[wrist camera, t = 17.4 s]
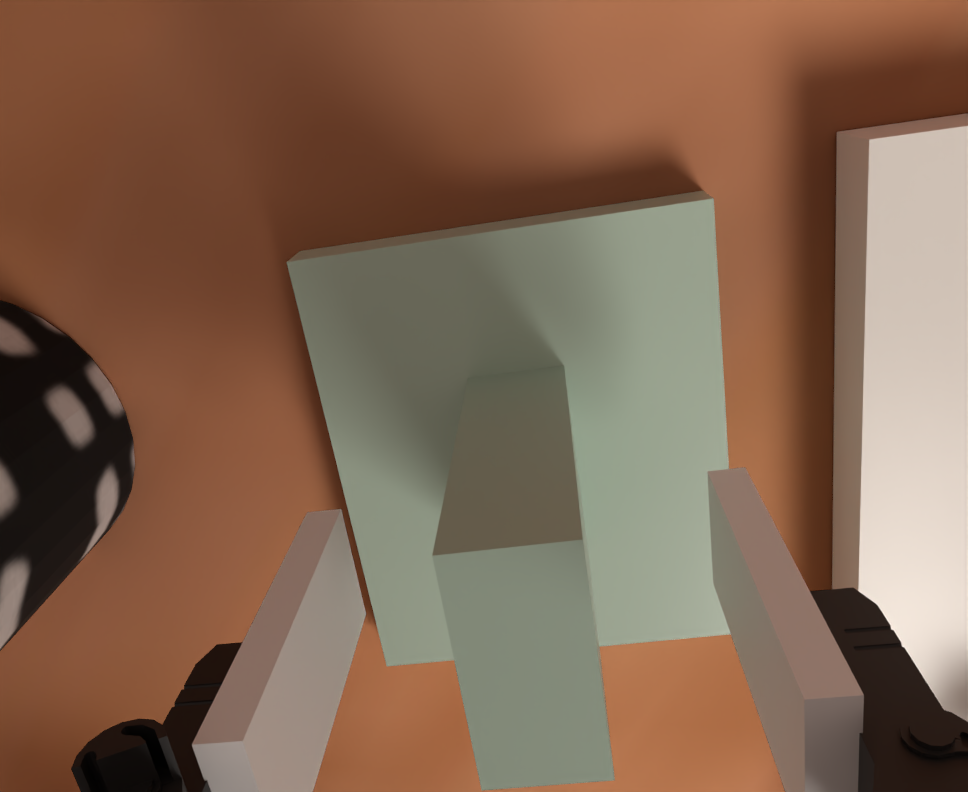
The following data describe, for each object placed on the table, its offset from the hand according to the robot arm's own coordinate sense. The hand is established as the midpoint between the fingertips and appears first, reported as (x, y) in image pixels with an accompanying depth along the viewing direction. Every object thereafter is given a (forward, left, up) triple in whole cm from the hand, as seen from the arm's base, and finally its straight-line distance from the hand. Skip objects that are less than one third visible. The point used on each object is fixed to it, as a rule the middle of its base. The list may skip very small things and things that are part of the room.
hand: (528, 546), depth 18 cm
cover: (0, 0, -5) cm, 5 cm away
